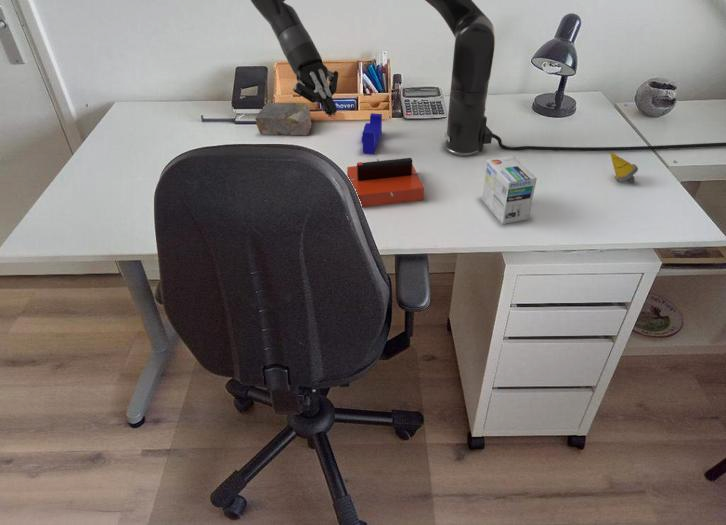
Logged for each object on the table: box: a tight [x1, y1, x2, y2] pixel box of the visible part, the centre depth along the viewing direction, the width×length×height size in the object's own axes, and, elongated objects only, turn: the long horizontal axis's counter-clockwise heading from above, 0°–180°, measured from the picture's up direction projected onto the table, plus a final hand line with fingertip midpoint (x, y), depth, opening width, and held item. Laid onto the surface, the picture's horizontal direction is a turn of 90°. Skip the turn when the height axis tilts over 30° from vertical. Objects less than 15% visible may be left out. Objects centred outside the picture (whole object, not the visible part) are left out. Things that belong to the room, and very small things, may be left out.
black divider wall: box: [356, 157, 413, 181], centre depth 128 cm, size 13×1×4 cm, turn 100°
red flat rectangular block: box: [346, 158, 425, 208], centre depth 130 cm, size 17×17×4 cm
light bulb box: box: [481, 155, 538, 225], centre depth 121 cm, size 11×7×11 cm, turn 17°
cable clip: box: [361, 112, 383, 155], centre depth 148 cm, size 12×4×6 cm, turn 168°
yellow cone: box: [609, 151, 639, 184], centre depth 131 cm, size 5×5×10 cm
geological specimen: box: [255, 102, 313, 137], centre depth 157 cm, size 11×6×15 cm
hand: (333, 113), depth 132 cm, fingers closed
